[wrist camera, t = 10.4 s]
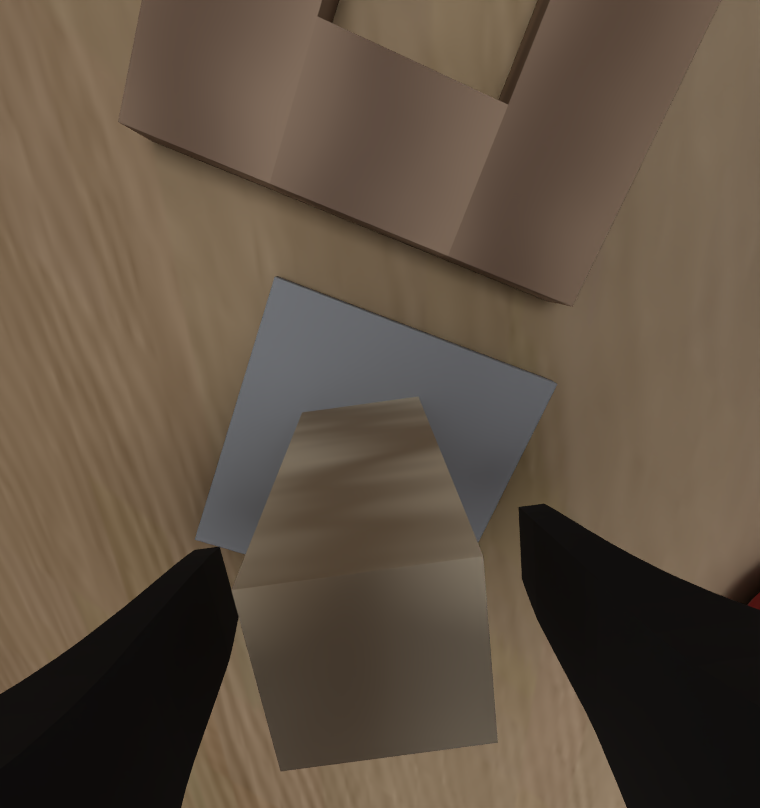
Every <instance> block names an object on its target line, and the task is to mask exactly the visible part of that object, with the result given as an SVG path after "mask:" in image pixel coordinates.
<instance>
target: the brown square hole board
mask: <svg viewBox="0 0 760 808" xmlns="http://www.w3.org/2000/svg"><path fill="white" fill-rule="evenodd" d="M338 2H339V0H142V3H141V8H140V13H139V18H138V23H137V28H136V33H135V38H134V44H133V49H132V54H131V59H130V64H129V69H128V74H127V79H126V84H125V90H124V95H123V100H122V105H121V110H120V115H119V120H118V122H119V123H121V124H123V125H125V126H126V127H128V128H130V129H132V130H133V131H135V132H137V133H139V134H140V135H142V136H144V137H146V138H148V139H149V140H151V141H153V142H156V143H158V144H161V145H163V146H166V147H168V148H171V149H173V150H176V151H178V152H180V153H183V154H185V155H188V156H190V157H193V158H195V159H198V160H200V161H203V162H205V163H208V164H210V165H213V166H215V167H217V168H220V169H222V170H225V171H227V172H230V173H232V174H235V175H237V176H240V177H242V178H245V179H247V180H250V181H252V182H255V183H257V184H259V185H262V186H264V187H267V188H269V189H272V190H274V191H277V192H279V193H282V194H284V195H287V196H289V197H292V198H294V199H297V200H299V201H301V202H304V203H306V204H309V205H311V206H314V207H316V208H319V209H321V210H324V211H326V212H329V213H331V214H334V215H336V216H339V217H341V218H343V219H346V220H348V221H351V222H353V223H356V224H358V225H361V226H363V227H366V228H368V229H371V230H373V231H376V232H378V233H381V234H383V235H385V236H388V237H390V238H393V239H395V240H398V241H400V242H403V243H405V244H408V245H410V246H413V247H415V248H418V249H420V250H423V251H425V252H427V253H430V254H432V255H435V256H437V257H440V258H442V259H445V260H447V261H450V262H452V263H455V264H457V265H460V266H462V267H464V268H467V269H469V270H472V271H474V272H477V273H479V274H482V275H484V276H487V277H489V278H492V279H494V280H497V281H499V282H502V283H504V284H506V285H509V286H511V287H514V288H516V289H519V290H521V291H524V292H526V293H529V294H531V295H534V296H536V297H539V298H541V299H544V300H546V301H550V302H554V303H559V304H563V305H568V306H572V307H573V305H574V303H575V301H576V298H577V296H578V294H579V292H580V290H581V288H582V286H583V284H584V282H585V280H586V278H587V276H588V274H589V272H590V270H591V268H592V266H593V263H594V261H595V259H596V257H597V255H598V253H599V251H600V249H601V247H602V245H603V243H604V241H605V239H606V237H607V235H608V233H609V231H610V228H611V226H612V224H613V222H614V220H615V218H616V216H617V214H618V212H619V210H620V208H621V206H622V204H623V202H624V200H625V198H626V195H627V193H628V191H629V189H630V187H631V185H632V183H633V181H634V179H635V177H636V175H637V173H638V171H639V169H640V167H641V165H642V163H643V160H644V158H645V156H646V154H647V152H648V150H649V148H650V146H651V144H652V142H653V140H654V138H655V136H656V134H657V132H658V130H659V128H660V125H661V123H662V121H663V119H664V117H665V115H666V113H667V111H668V109H669V107H670V105H671V103H672V101H673V99H674V97H675V95H676V92H677V90H678V88H679V86H680V84H681V82H682V80H683V78H684V76H685V74H686V72H687V70H688V68H689V66H690V64H691V62H692V60H693V57H694V55H695V53H696V51H697V49H698V47H699V45H700V43H701V41H702V39H703V37H704V35H705V33H706V31H707V29H708V27H709V25H710V22H711V20H712V18H713V16H714V14H715V12H716V10H717V8H718V6H719V4H720V2H721V0H538V2H537V4H536V7H535V9H534V12H533V14H532V17H531V19H530V22H529V24H528V27H527V29H526V32H525V35H524V37H523V40H522V42H521V45H520V47H519V50H518V52H517V55H516V57H515V60H514V62H513V65H512V68H511V70H510V73H509V75H508V78H507V80H506V83H505V85H504V88H503V90H502V93H501V95H500V98H499V100H497V99H495V98H493V97H491V96H488V95H486V94H484V93H482V92H480V91H478V90H476V89H473V88H471V87H469V86H467V85H465V84H463V83H460V82H458V81H456V80H454V79H452V78H450V77H447V76H445V75H443V74H441V73H439V72H437V71H434V70H432V69H430V68H428V67H426V66H424V65H422V64H419V63H417V62H415V61H413V60H411V59H409V58H406V57H404V56H402V55H400V54H398V53H396V52H393V51H391V50H389V49H387V48H385V47H383V46H380V45H378V44H376V43H374V42H372V41H370V40H368V39H365V38H363V37H361V36H359V35H357V34H355V33H352V32H350V31H348V30H346V29H344V28H342V27H339V26H337V25H335V24H333V23H332V22H333V18H334V15H335V12H336V8H337V5H338Z"/></svg>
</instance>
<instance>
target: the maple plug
mask: <svg viewBox="0 0 760 808" xmlns="http://www.w3.org/2000/svg"><path fill="white" fill-rule="evenodd" d="M232 594H233V598H234V601H235V605H236V609H237V612H238V616H239V620H240V623H241V627H242V631H243V635H244V638H245V642H246V646H247V649H248V653H249V657H250V660H251V664H252V668H253V671H254V675H255V679H256V682H257V686H258V690H259V693H260V697H261V701H262V705H263V708H264V712H265V716H266V719H267V723H268V727H269V730H270V734H271V738H272V741H273V745H274V749H275V752H276V756H277V760H278V763H279V767H280V771H287V770H295V769H302V768H310V767H317V766H325V765H332V764H340V763H347V762H355V761H362V760H370V759H377V758H385V757H392V756H400V755H408V754H415V753H423V752H430V751H438V750H445V749H453V748H460V747H468V746H475V745H483V744H490V743H498V740H497V727H496V714H495V701H494V688H493V676H492V663H491V650H490V637H489V624H488V611H487V598H486V585H485V572H484V559H483V554H482V552H481V549H480V547H479V544H478V542H477V539H476V537H475V535H474V532H473V530H472V527H471V525H470V522H469V520H468V517H467V515H466V512H465V510H464V508H463V505H462V503H461V500H460V498H459V495H458V493H457V490H456V488H455V485H454V483H453V480H452V478H451V476H450V473H449V471H448V468H447V466H446V463H445V461H444V458H443V456H442V453H441V451H440V449H439V446H438V444H437V441H436V439H435V436H434V434H433V431H432V429H431V426H430V424H429V421H428V419H427V417H426V414H425V412H424V409H423V407H422V404H421V402H420V399H419V397H411V398H404V399H397V400H389V401H382V402H375V403H367V404H360V405H353V406H346V407H338V408H331V409H324V410H316V411H309V412H302V414H301V417H300V419H299V422H298V424H297V427H296V429H295V432H294V434H293V437H292V439H291V442H290V444H289V447H288V449H287V452H286V454H285V457H284V459H283V462H282V464H281V467H280V469H279V472H278V474H277V477H276V479H275V482H274V484H273V487H272V489H271V492H270V494H269V497H268V499H267V502H266V504H265V507H264V509H263V512H262V515H261V517H260V520H259V522H258V525H257V527H256V530H255V532H254V535H253V537H252V540H251V542H250V545H249V547H248V550H247V552H246V555H245V557H244V560H243V562H242V565H241V567H240V570H239V572H238V575H237V577H236V580H235V582H234V585H233V587H232Z"/></svg>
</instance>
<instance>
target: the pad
mask: <svg viewBox="0 0 760 808" xmlns="http://www.w3.org/2000/svg"><path fill="white" fill-rule="evenodd" d="M556 386H557V383H555V382H553V381H552V380H549V379H547V378H544V377H542V376H539V375H536V374H534V373H531V372H528V371H526V370H523V369H520V368H518V367H515V366H513V365H510V364H507V363H505V362H502V361H499V360H497V359H494V358H491V357H489V356H486V355H484V354H481V353H478V352H476V351H473V350H470V349H468V348H465V347H462V346H460V345H457V344H455V343H452V342H449V341H447V340H444V339H441V338H439V337H436V336H434V335H431V334H428V333H426V332H423V331H420V330H418V329H415V328H412V327H410V326H407V325H405V324H402V323H399V322H397V321H394V320H391V319H389V318H386V317H383V316H381V315H378V314H376V313H373V312H370V311H368V310H365V309H362V308H360V307H357V306H354V305H352V304H349V303H347V302H344V301H341V300H339V299H336V298H333V297H331V296H328V295H325V294H323V293H320V292H318V291H315V290H312V289H310V288H307V287H304V286H302V285H299V284H296V283H294V282H291V281H289V280H286V279H283V278H281V277H278V276H277V277H275V278H274V281H273V285H272V288H271V291H270V294H269V298H268V301H267V304H266V308H265V311H264V314H263V317H262V321H261V324H260V327H259V331H258V334H257V337H256V340H255V344H254V347H253V350H252V354H251V357H250V360H249V363H248V367H247V370H246V373H245V377H244V380H243V383H242V386H241V390H240V393H239V396H238V400H237V403H236V406H235V409H234V413H233V416H232V419H231V422H230V426H229V429H228V432H227V436H226V439H225V442H224V445H223V449H222V452H221V455H220V459H219V462H218V465H217V468H216V472H215V475H214V478H213V482H212V485H211V488H210V491H209V495H208V498H207V501H206V505H205V508H204V511H203V514H202V518H201V521H200V524H199V528H198V531H197V534H196V537H195V540H198V541H202V542H205V543H208V544H212V545H215V546H219V547H222V548H225V549H229V550H232V551H236V552H239V553H242V554H246V552H247V550H248V547H249V545H250V542H251V540H252V537H253V535H254V532H255V530H256V527H257V525H258V522H259V520H260V517H261V515H262V512H263V509H264V507H265V504H266V502H267V499H268V497H269V494H270V492H271V489H272V487H273V484H274V482H275V479H276V477H277V474H278V472H279V469H280V467H281V464H282V462H283V459H284V457H285V454H286V452H287V449H288V447H289V444H290V442H291V439H292V437H293V434H294V432H295V429H296V427H297V424H298V422H299V419H300V417H301V414H302V412H309V411H316V410H324V409H331V408H338V407H346V406H353V405H360V404H367V403H375V402H382V401H389V400H397V399H404V398H411V397H419V399H420V402H421V404H422V407H423V409H424V412H425V414H426V417H427V419H428V421H429V424H430V426H431V429H432V431H433V434H434V436H435V439H436V441H437V444H438V446H439V449H440V451H441V453H442V456H443V458H444V461H445V463H446V466H447V468H448V471H449V473H450V476H451V478H452V480H453V483H454V485H455V488H456V490H457V493H458V495H459V498H460V500H461V503H462V505H463V508H464V510H465V512H466V515H467V517H468V520H469V522H470V525H471V527H472V530H473V532H474V535H475V537H476V539H477V542H479V540H480V538H481V536H482V534H483V532H484V530H485V528H486V526H487V524H488V522H489V520H490V518H491V516H492V514H493V512H494V510H495V508H496V506H497V504H498V502H499V500H500V498H501V496H502V494H503V492H504V490H505V488H506V486H507V484H508V482H509V480H510V478H511V476H512V474H513V472H514V470H515V468H516V466H517V464H518V462H519V460H520V458H521V456H522V454H523V452H524V450H525V448H526V446H527V444H528V442H529V440H530V438H531V436H532V434H533V432H534V430H535V428H536V426H537V424H538V422H539V420H540V418H541V416H542V414H543V412H544V410H545V408H546V406H547V404H548V402H549V400H550V398H551V396H552V394H553V392H554V390H555V388H556Z"/></svg>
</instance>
